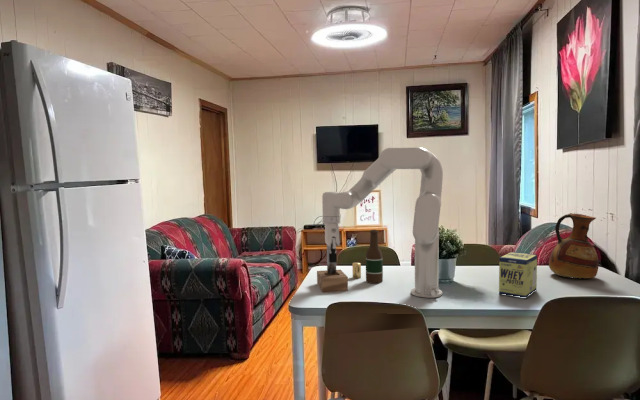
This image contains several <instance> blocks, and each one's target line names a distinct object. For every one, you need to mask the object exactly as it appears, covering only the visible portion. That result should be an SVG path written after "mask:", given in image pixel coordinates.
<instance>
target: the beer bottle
mask: <svg viewBox="0 0 640 400" xmlns="http://www.w3.org/2000/svg"><path fill="white" fill-rule="evenodd" d="M369 234H370V235H369V236H370V237H369V247H368V248H367V250H366V253H365V280H366V281H365V282H367V283H369V284H381V283H383V282H384V281H383V278H384V276H383V275H384V271H383V270H384V268H383V267H384V266H383V265H384V264H383V262H384V261H383V260H384V258H383V257H384V256H383V253H382V250H381V249H380V247H379V237H378V234H379V231H378V230H377V229H370V231H369Z"/></svg>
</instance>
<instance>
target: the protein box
mask: <svg viewBox="0 0 640 400" xmlns="http://www.w3.org/2000/svg"><path fill="white" fill-rule="evenodd" d="M498 261H499V262H498V263H499V264H498V265H499V267H498V269H499V270H498V272H499V273H498V274H499V275H498V295H499V294H506V295H513V296H520V297H527V296H528V295H529V294H531V293H532V292H533V291H535V290H536V291H537V287H538V286H537V284H538V283H537V276H538V274H537V273H538V254H535V253H534V254H533V253H527V252H526V253H523V252H516V251H511V252H508V253H506V254H505V255H502V256H499V260H498Z"/></svg>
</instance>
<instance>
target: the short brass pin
mask: <svg viewBox="0 0 640 400" xmlns="http://www.w3.org/2000/svg"><path fill="white" fill-rule="evenodd" d="M361 278H362V263H361V262H352V279H355V280H359V279H361Z"/></svg>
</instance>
